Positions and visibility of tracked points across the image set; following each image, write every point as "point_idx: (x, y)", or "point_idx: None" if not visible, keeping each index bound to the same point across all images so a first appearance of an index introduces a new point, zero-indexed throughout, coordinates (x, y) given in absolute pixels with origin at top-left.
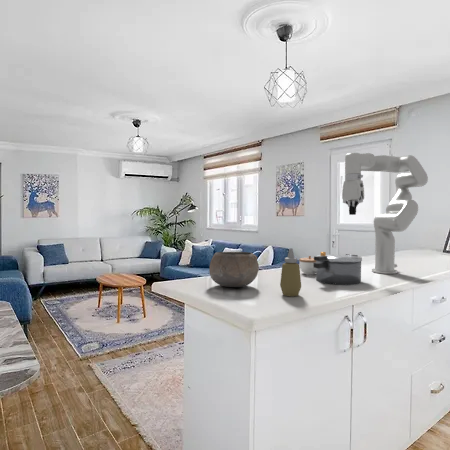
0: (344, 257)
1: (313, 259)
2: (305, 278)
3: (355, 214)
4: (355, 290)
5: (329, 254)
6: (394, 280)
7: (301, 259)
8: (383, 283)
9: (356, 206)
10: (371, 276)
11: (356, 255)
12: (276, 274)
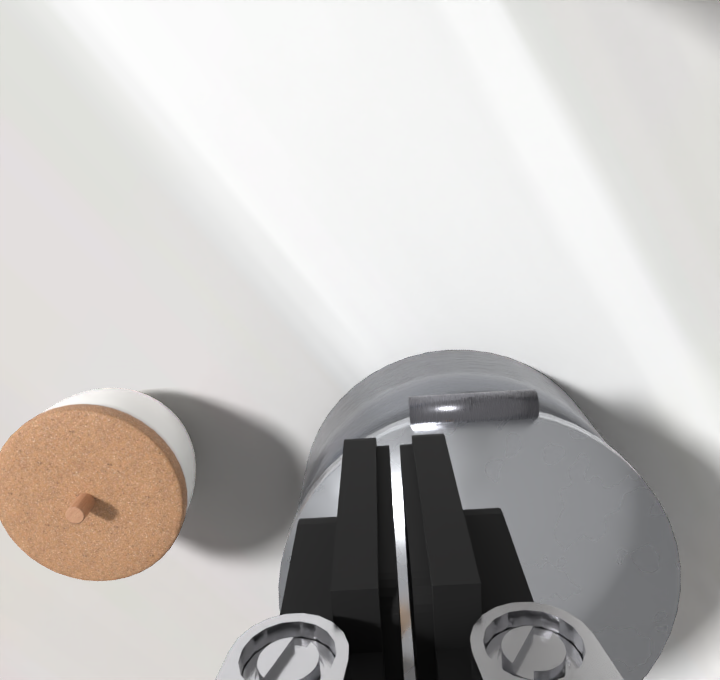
0: (533, 585)
1: (143, 511)
2: (268, 593)
3: (444, 443)
4: (695, 629)
5: (297, 518)
6: (705, 128)
7: (80, 578)
8: (705, 315)
9: (554, 634)
10: (488, 120)
11: (537, 416)
12: (49, 640)
